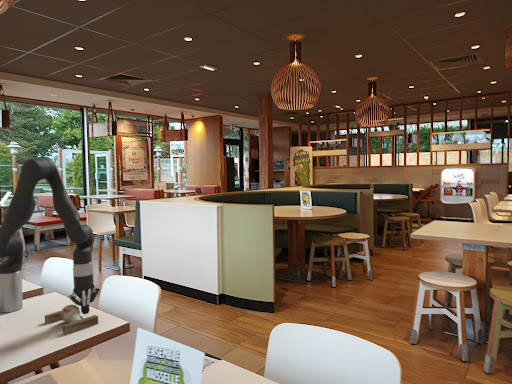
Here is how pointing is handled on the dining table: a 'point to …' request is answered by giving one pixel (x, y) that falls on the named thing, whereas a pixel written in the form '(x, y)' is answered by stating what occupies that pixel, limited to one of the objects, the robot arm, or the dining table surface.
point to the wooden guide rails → (74, 325)
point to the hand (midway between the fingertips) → (85, 313)
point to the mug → (70, 314)
